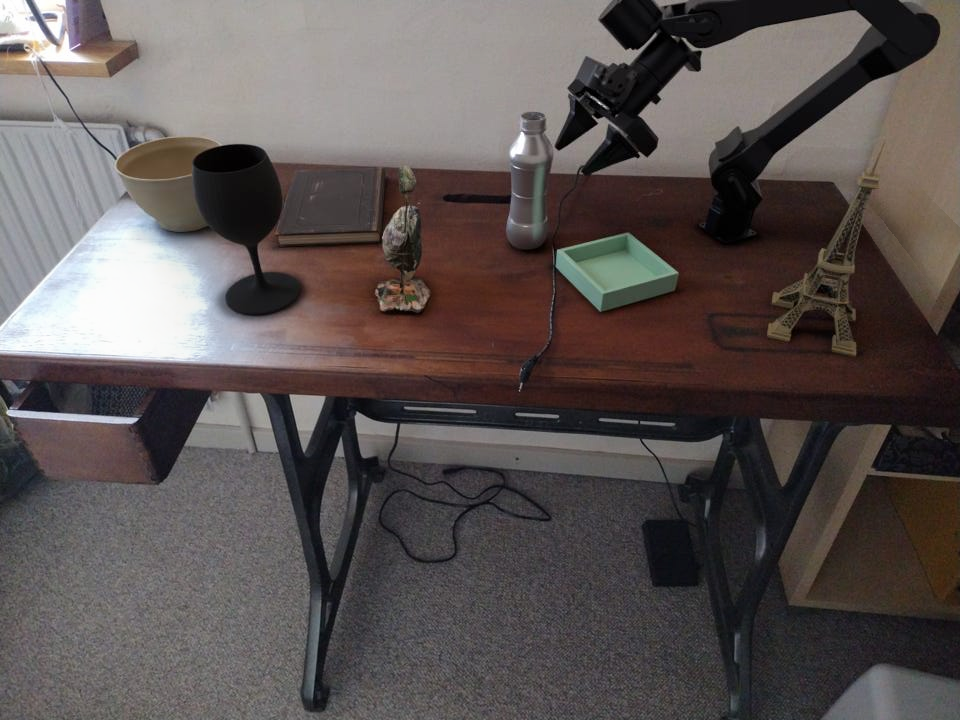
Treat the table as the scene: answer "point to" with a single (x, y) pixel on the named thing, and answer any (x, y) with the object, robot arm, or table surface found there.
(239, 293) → the wine glass
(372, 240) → the hardcover book
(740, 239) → the robot arm
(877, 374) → the table surface
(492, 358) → the table surface
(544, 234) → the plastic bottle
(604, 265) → the bin
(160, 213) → the planter bowl
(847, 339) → the eiffel tower
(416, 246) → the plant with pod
